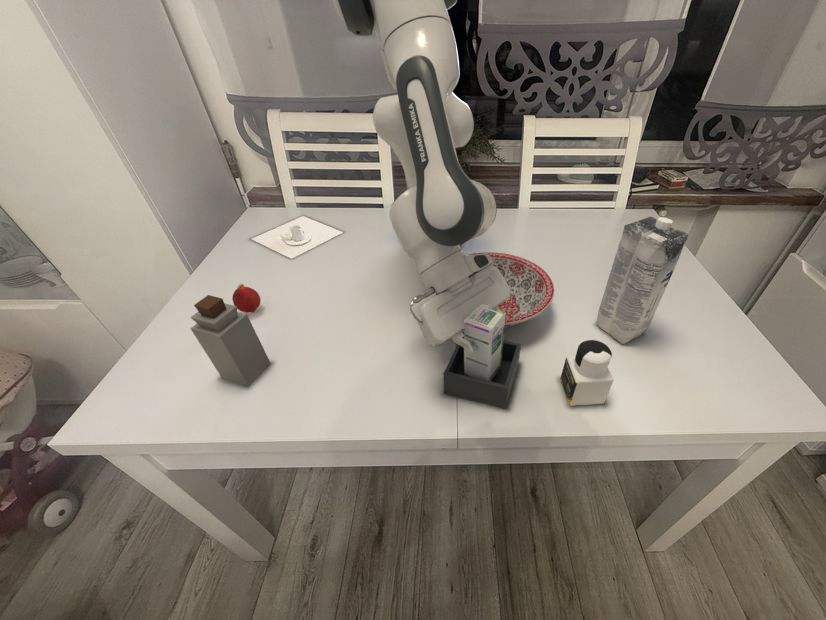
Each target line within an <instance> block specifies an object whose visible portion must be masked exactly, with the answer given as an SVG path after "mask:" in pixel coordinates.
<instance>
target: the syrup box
mask: <svg viewBox="0 0 826 620" xmlns="http://www.w3.org/2000/svg"><path fill="white" fill-rule="evenodd" d="M505 314H506V313H505V312H504V311H502V310H500V309H497V308H494V307H492V306H488V305H485V304H481V305H480V306H479V307H477V308H476V309H475V310H473V311H472V313H471V314H470V315H468V316H467V317H466V318H465V319H464V323H465V325H466V327H465V328H464V329H463V332H464V339H465V340H467V341H468V342H472V341H474V343H475V346H476V347H477V350H476V351H474V352H473V353H472V354H467V353H466V351H465V350H464V374H466V375H468V376H470V377H473V378H477V379H482V380H486V381H491V380H492V379H493V377H494V376H495V375H496V373H497V372H498V370H499V369H500V367H501V362H502V350H503V340H504V338H505V328H504V327H505Z"/></svg>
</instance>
